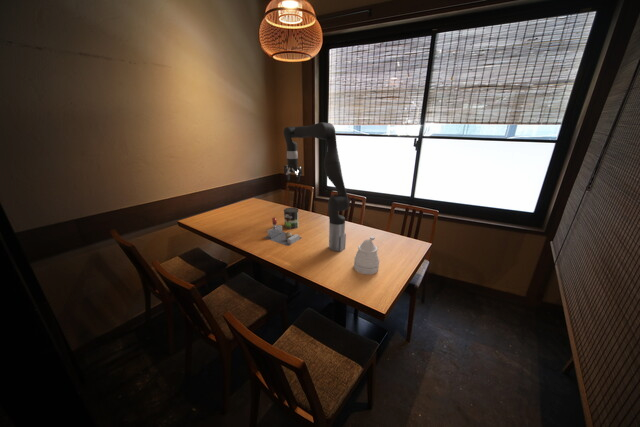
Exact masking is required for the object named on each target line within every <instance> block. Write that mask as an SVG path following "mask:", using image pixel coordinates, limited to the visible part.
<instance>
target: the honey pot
mask: <svg viewBox="0 0 640 427" xmlns="http://www.w3.org/2000/svg"><path fill="white" fill-rule="evenodd" d="M375 239H376V237H375V235H369V238H366V239H364V240H363V242H361V243H360V244H359V245H358V247H357V249H358V250H357V251H356V254H355V256H354V261H353V268H354V270H355V271H356V272H357V273H359V274H362V275H374V274H376V273H378V271H379V268H380V258H379V254H378V250H379V249H378V248H379V247H377V245H375V244H374V243H373V242H374V240H375Z"/></svg>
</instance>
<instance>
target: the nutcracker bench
mask: <svg viewBox="0 0 640 427" xmlns="http://www.w3.org/2000/svg"><path fill="white" fill-rule="evenodd" d="M286 233H287V232H285V231H283V233H281V234H279V235H277V236H275V237H273V238H268V235H266V236H264V237H263V239H267V240H269V241H271V242H275V243H277V244H280V245H283V246H287V247H289V246H291V245H294V243H296V242H298V241H299V240H301V239H302V237H301V236H300V234H297V233H296V234H292V236H291V237H290V238H287V237H286Z"/></svg>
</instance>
